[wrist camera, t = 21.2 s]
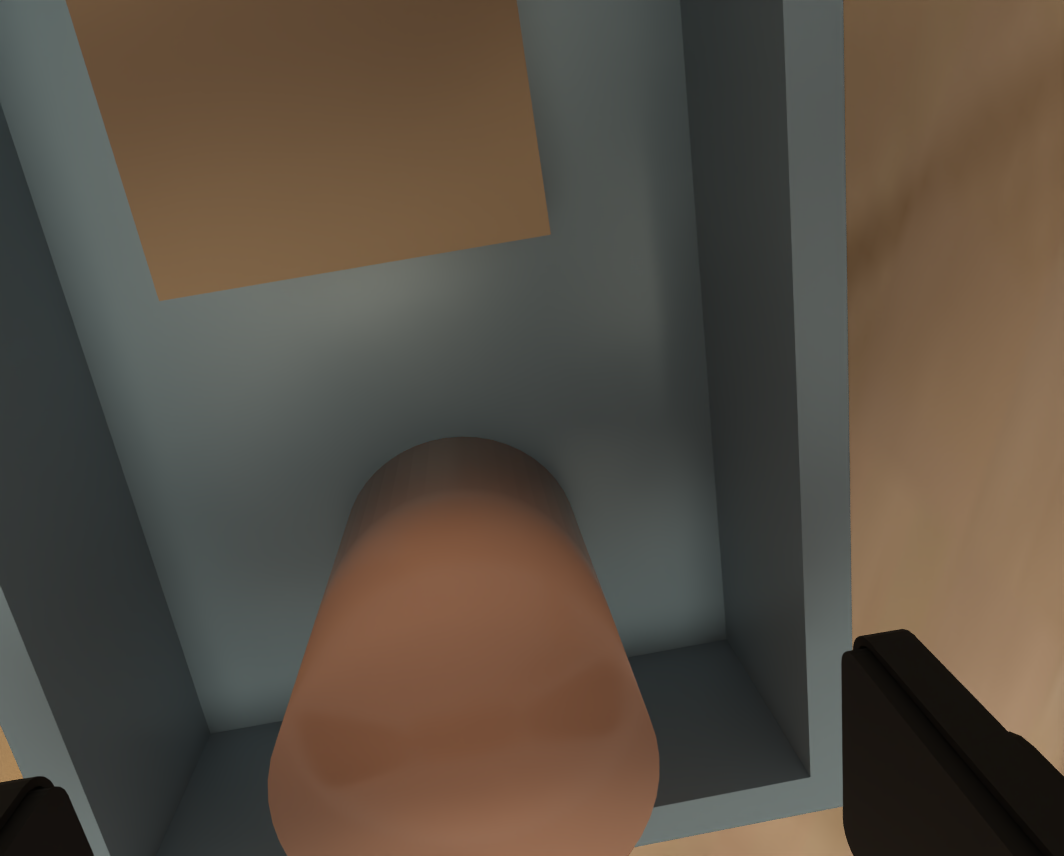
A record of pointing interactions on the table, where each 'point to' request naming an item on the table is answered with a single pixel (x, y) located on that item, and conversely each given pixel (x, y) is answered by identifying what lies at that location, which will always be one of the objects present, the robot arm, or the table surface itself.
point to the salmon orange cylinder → (463, 677)
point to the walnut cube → (313, 132)
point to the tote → (440, 423)
